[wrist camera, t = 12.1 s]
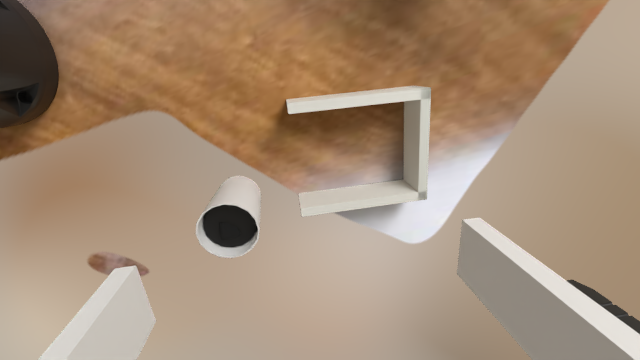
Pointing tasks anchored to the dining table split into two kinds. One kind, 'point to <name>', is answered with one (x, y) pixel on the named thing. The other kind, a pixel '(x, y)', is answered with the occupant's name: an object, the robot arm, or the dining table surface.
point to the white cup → (231, 219)
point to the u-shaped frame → (414, 151)
